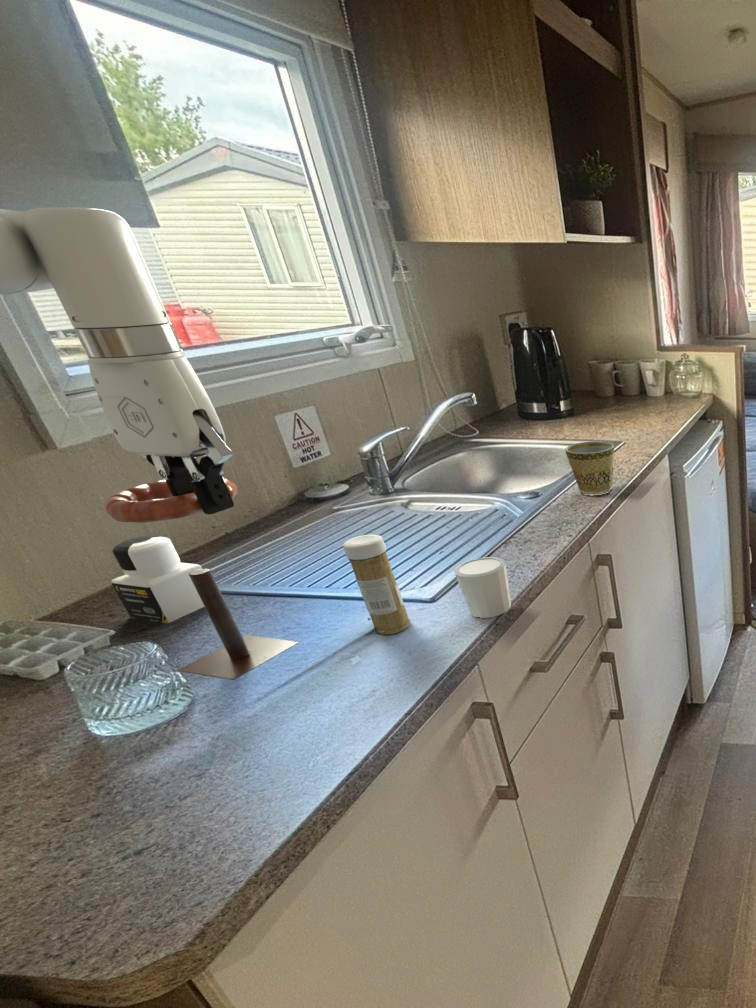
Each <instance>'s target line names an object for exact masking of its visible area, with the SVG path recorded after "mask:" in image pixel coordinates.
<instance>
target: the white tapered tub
mask: <svg viewBox="0 0 756 1008" xmlns="http://www.w3.org/2000/svg"><path fill="white" fill-rule="evenodd" d="M453 573H454V575H455V578H456V581H457V583H458V586H459V588H460V591H461V593H462V596H463V598H464V600H465V602H466V605H467V608H468V611H469V613H470V616H472V615H473V616H472V617H474V616H475V617H474V618H476V617H480V618H479V619H488V618H489V619H490V618H494V617H498V616H500V615H503V614H505V613H506V612H508V611H509V610H510V609H511V607H512V600H511V593H510V586H509V577H508V571H507V564H506V561H505V559H503V558H500V557H493V556H487V557H478V558H474V559H470V560H467V561H464V562H462V563H460V564H458V565H457V566H456V567H455V568H454V569H453Z"/></svg>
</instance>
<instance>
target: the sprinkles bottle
mask: <svg viewBox="0 0 756 1008" xmlns="http://www.w3.org/2000/svg"><path fill="white" fill-rule="evenodd" d="M342 547H343V551H344V553H345V556H346V558H347V559H348V561H349V562H350V565H351V568H352V570H353V573H354V577H355V580H356V584H357V587H358V588H359V591H360V594H361V596H362V599H363V602H364V605H365V608H366V610H367V612H368V614H369V616H370V619H371V623H372V625H373V631H374V632H375V633H376V634H378V635H382V636H383V635H384V636H385V635H386V636H387V635H393V634H397V633H401V632H402V631H404V630H406V629H408V627H409V626H410V625H411V619H410V618H409V616H408V612H407V610H406V607H405V604H404V599H403V597H402V593H401V591H400V588H399V585H398V583H397V581H396V577H395V575H394V572H393V570H392V566H391V563H390V561H389V558H388V555H387V547H386V544H385V541H384V538H383V536H381V535H379V534H363V535H358V536H355V537H351V538H350V539H347V540H346V541H345V542H344V543H343V544H342Z"/></svg>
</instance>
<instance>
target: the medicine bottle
mask: <svg viewBox="0 0 756 1008" xmlns="http://www.w3.org/2000/svg"><path fill="white" fill-rule="evenodd" d="M111 552H112V554H113V556H114V558H115V559H116V561H117V563H118V565H119V567H120V569H121V570H122V572H123V574H124V575H121V576H118V577H115V578H112V579H111V581H110V584H111V586H112V587H113V589H114V591H115V593H116V595H117V596H118V597H119V600H120V601H121V603H122V605H123V607H124V608H125V610H126V612H127V614H128V616H129V618H130V619H133V620H141V621H146V622H147V621H148V622H154V623H160V624H161V623H162V624H170V623H172V622H174V621H177V620H179V619H181V618H183V617H186V616H187V615H189V614H191V613H194V612H196V611H198V610H201V609H203V608H205V606H204V604H203V602H202V600H201V598H200V596H199V594H198V592H197V590H196V588H195V586H194V584H193V582H192V580H191V578H190V576H189V573H190V572H192V571H194V570H197V569H202V568H203V567H202V565H200V564H197V563H190V562H189V563H188V562H181V559H180V556H179V554H178V552H177V550H176V549H175V547H174V544H173V542H172V540H171V539H170V538H169V537H167V536H165V535H159V534H148V535H141V536H136V537H132V538H128V539H126V540H123V541H121V542H119V543H118V544H116V545H115V546H114V547H113V548H112V551H111Z"/></svg>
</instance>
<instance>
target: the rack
mask: <svg viewBox="0 0 756 1008" xmlns="http://www.w3.org/2000/svg"><path fill="white" fill-rule="evenodd" d="M201 568H202V569H197V570H194V571H192V572H190V573H189V576H190V578H191V580H192V582H193V584H194V586H195V588H196V590H197V592H198V594H199V596H200V598H201V600H202V602H203V604H204V606H205V607H204V608H205V611H206V612H207V614H208V616H209V618H210V620H211V622H212V624H213V626H214V628H215V630H216V632H217V634H218V636H219V639H220V641H221V643H222V645H223V646H221V647H219V648H218V649H216V650H214V651H211V652H210V653H208V654H206V655H204V656H202V657H200V658H198V659H197V660H195V661H193V662H191V663H189V664H187V665H185V666H183V667H180V668H178V669H177V670H176V671H177V672H181V673H188V674H192V675H193V674H194V675H200V676H205V677H206V676H207V677H212V678H219V679H224V680H230V681H231V680H232V681H235V680H237V679H238V678H240V677H242V676H243V675H245V674H247V673H249V672H250V671H252V670H254V669H256V668H258V667H260V666H261V665H263V664H264V663H266V662H268V661H269V660H272V659H274V658H275V657H277V656H278V655H280V654H282V653H283V652H285V651H287V650H290V648H293V647H294V646H296V645H297V644H299V643H300V641H294V640H288V639H282V638H274V637H267V636H260V635H252V634H244V635H242V633H241V632H240V629H239V627H238V625H237V623H236V621H235V619H234V617H233V614H232V612H231V610H230V608H229V606H228V604H227V602H226V599H225V598H224V596H223V594H222V591H221V589H220V587H219V585H218V582H217V581H216V579H215V576H214V574H213V573H212V571H211V569H210V568H208V567H201Z"/></svg>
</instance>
